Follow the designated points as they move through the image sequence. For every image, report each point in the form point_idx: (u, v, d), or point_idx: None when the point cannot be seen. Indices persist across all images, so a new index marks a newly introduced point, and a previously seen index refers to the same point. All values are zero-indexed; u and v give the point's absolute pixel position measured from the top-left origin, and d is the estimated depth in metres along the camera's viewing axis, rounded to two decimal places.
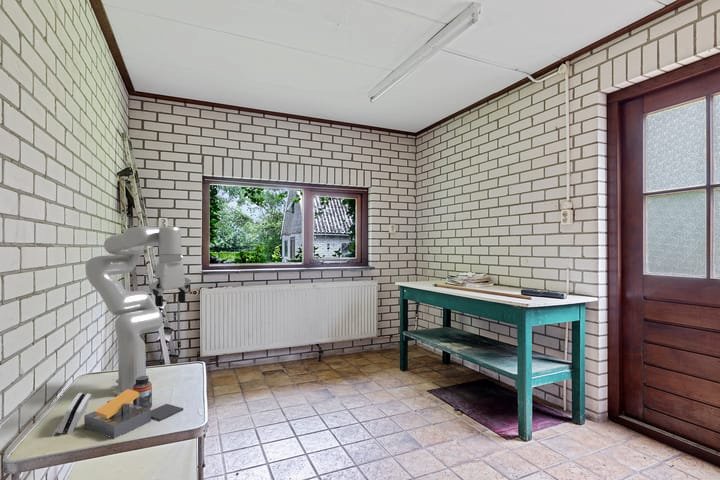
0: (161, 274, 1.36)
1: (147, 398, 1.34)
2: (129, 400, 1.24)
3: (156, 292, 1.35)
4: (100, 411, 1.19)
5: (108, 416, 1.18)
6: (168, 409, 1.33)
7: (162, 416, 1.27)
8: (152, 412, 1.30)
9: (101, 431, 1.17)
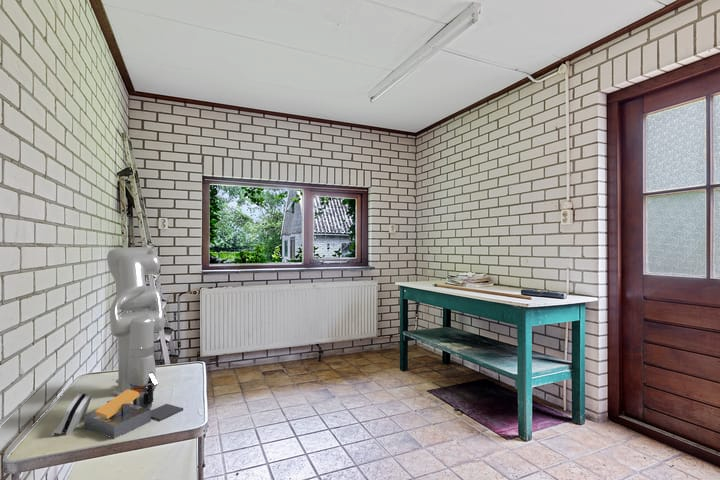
0: (154, 367, 1.34)
1: None
2: (129, 400, 1.24)
3: None
4: (100, 411, 1.19)
5: (108, 416, 1.18)
6: (168, 409, 1.33)
7: (162, 416, 1.27)
8: (152, 412, 1.30)
9: (101, 431, 1.17)
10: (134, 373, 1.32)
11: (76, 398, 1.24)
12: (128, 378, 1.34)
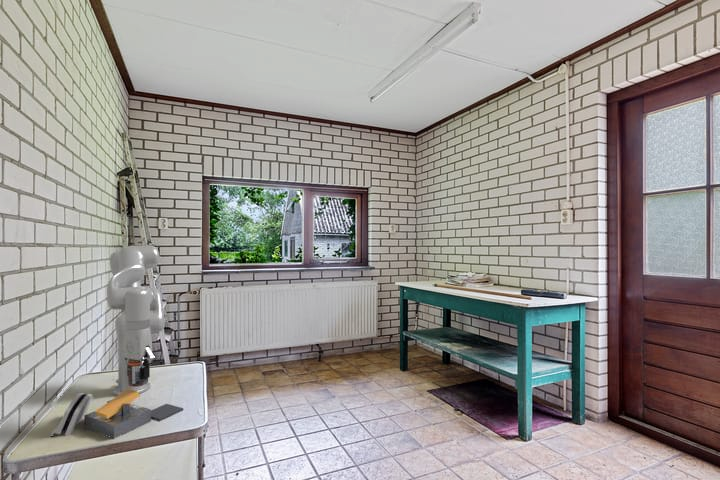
0: (150, 341, 1.29)
1: None
2: (129, 400, 1.24)
3: None
4: (100, 411, 1.19)
5: (108, 416, 1.18)
6: (168, 409, 1.33)
7: (162, 416, 1.27)
8: (152, 412, 1.30)
9: (101, 431, 1.17)
10: (129, 347, 1.27)
11: (76, 398, 1.23)
12: (123, 352, 1.29)
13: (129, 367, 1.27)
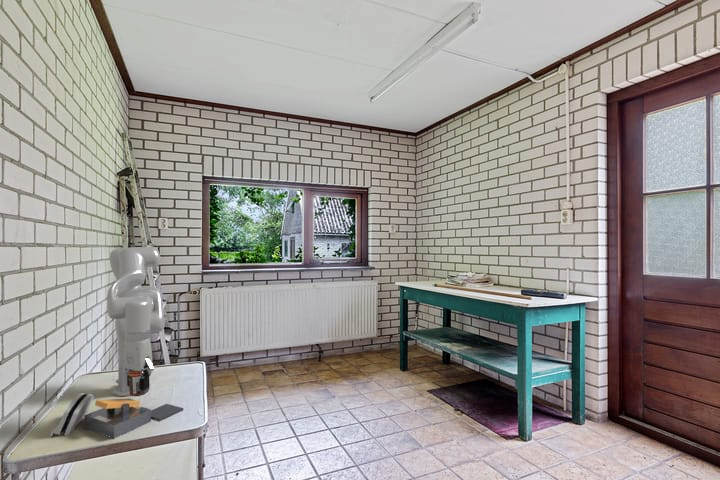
0: (150, 351, 1.29)
1: None
2: (129, 404, 1.24)
3: None
4: (101, 401, 1.19)
5: (108, 406, 1.18)
6: (168, 409, 1.33)
7: (162, 416, 1.27)
8: (152, 412, 1.30)
9: (101, 431, 1.17)
10: (129, 358, 1.27)
11: (76, 398, 1.23)
12: (123, 362, 1.29)
13: (129, 378, 1.28)
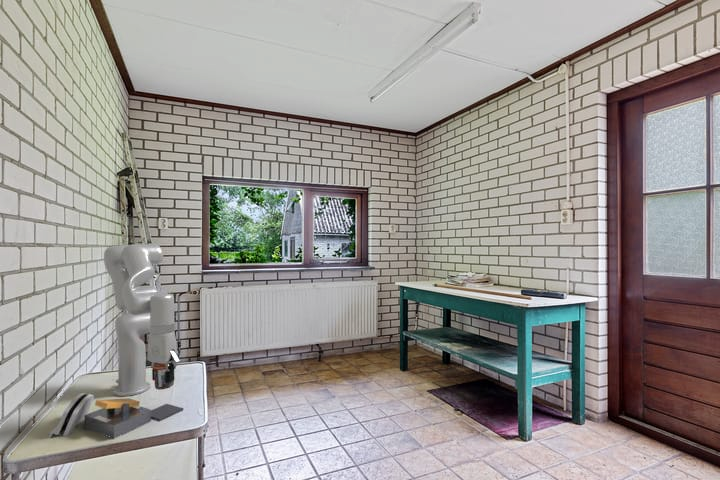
0: (175, 344, 1.30)
1: None
2: (129, 404, 1.24)
3: None
4: (101, 401, 1.19)
5: (108, 406, 1.18)
6: (168, 409, 1.33)
7: (162, 416, 1.27)
8: (152, 412, 1.30)
9: (101, 431, 1.17)
10: (155, 351, 1.29)
11: (75, 399, 1.23)
12: (149, 356, 1.30)
13: (155, 371, 1.29)
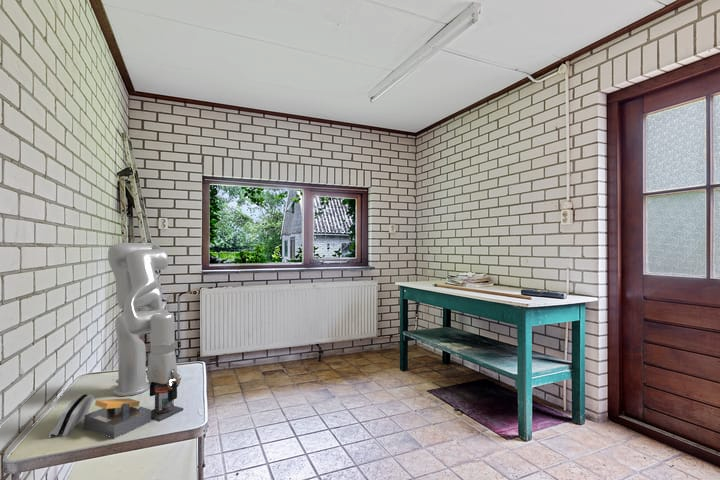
0: (175, 364, 1.30)
1: None
2: (129, 404, 1.24)
3: None
4: (101, 401, 1.19)
5: (108, 406, 1.18)
6: None
7: (162, 416, 1.27)
8: (152, 412, 1.30)
9: (101, 431, 1.17)
10: (155, 370, 1.29)
11: (75, 399, 1.23)
12: (149, 375, 1.31)
13: (156, 394, 1.29)
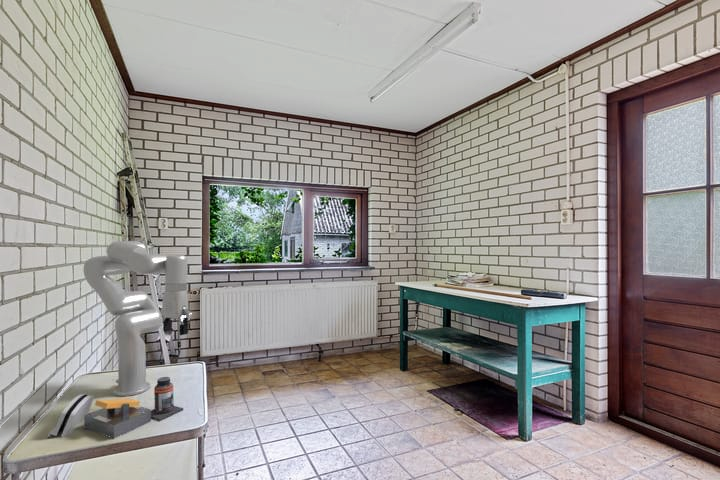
0: (187, 302, 1.40)
1: (169, 400, 1.31)
2: (129, 404, 1.24)
3: None
4: (101, 401, 1.19)
5: (108, 406, 1.18)
6: None
7: (162, 416, 1.27)
8: (152, 412, 1.30)
9: (101, 431, 1.17)
10: (168, 307, 1.39)
11: (74, 399, 1.22)
12: (163, 311, 1.41)
13: (155, 394, 1.29)
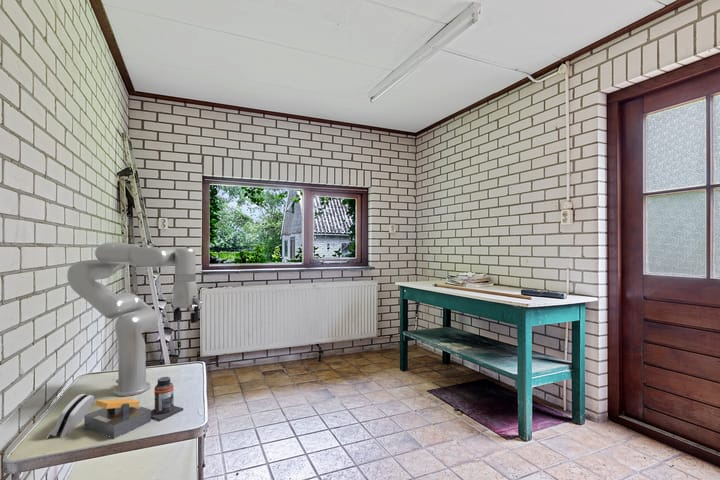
0: (196, 292, 1.48)
1: (169, 400, 1.31)
2: (129, 404, 1.24)
3: None
4: (101, 401, 1.19)
5: (108, 406, 1.18)
6: None
7: (162, 416, 1.27)
8: (152, 412, 1.30)
9: (101, 431, 1.17)
10: (179, 297, 1.47)
11: (74, 400, 1.22)
12: (173, 302, 1.48)
13: (156, 394, 1.29)
